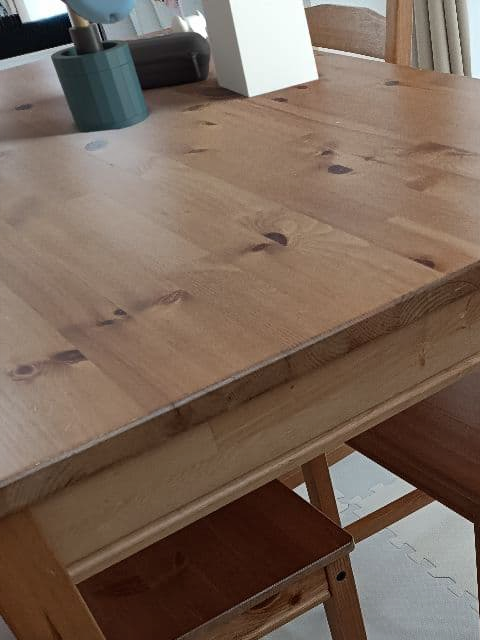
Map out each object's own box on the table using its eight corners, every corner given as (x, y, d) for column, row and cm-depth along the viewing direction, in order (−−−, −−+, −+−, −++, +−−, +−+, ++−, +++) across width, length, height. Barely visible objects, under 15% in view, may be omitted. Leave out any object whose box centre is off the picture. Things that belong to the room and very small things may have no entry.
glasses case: (218, 62, 130) (204, 13, 124) (219, 101, 126) (205, 53, 119) (111, 76, 130) (92, 28, 123) (108, 116, 126) (88, 69, 119)
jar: (65, 135, 109) (38, 61, 103) (92, 114, 116) (68, 44, 110) (134, 128, 108) (111, 53, 101) (157, 108, 115) (137, 36, 109)
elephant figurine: (193, 55, 142) (184, 17, 138) (166, 54, 146) (156, 16, 142) (221, 46, 145) (213, 8, 141) (194, 45, 149) (185, 8, 145)
